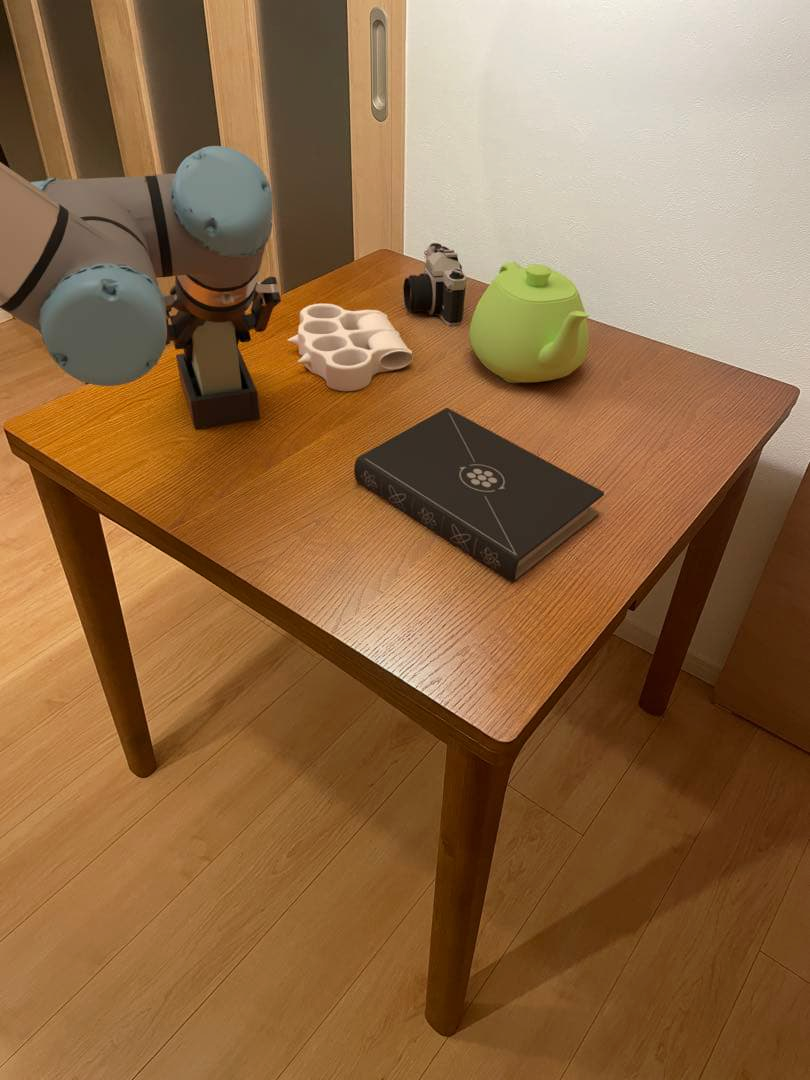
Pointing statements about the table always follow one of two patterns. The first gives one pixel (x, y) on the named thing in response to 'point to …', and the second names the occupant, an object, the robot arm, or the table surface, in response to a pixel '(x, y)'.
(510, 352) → the teapot
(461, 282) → the camera
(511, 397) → the table surface
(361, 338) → the knuckle duster
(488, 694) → the table surface
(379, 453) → the book
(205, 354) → the grey-green lidded box
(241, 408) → the socket
